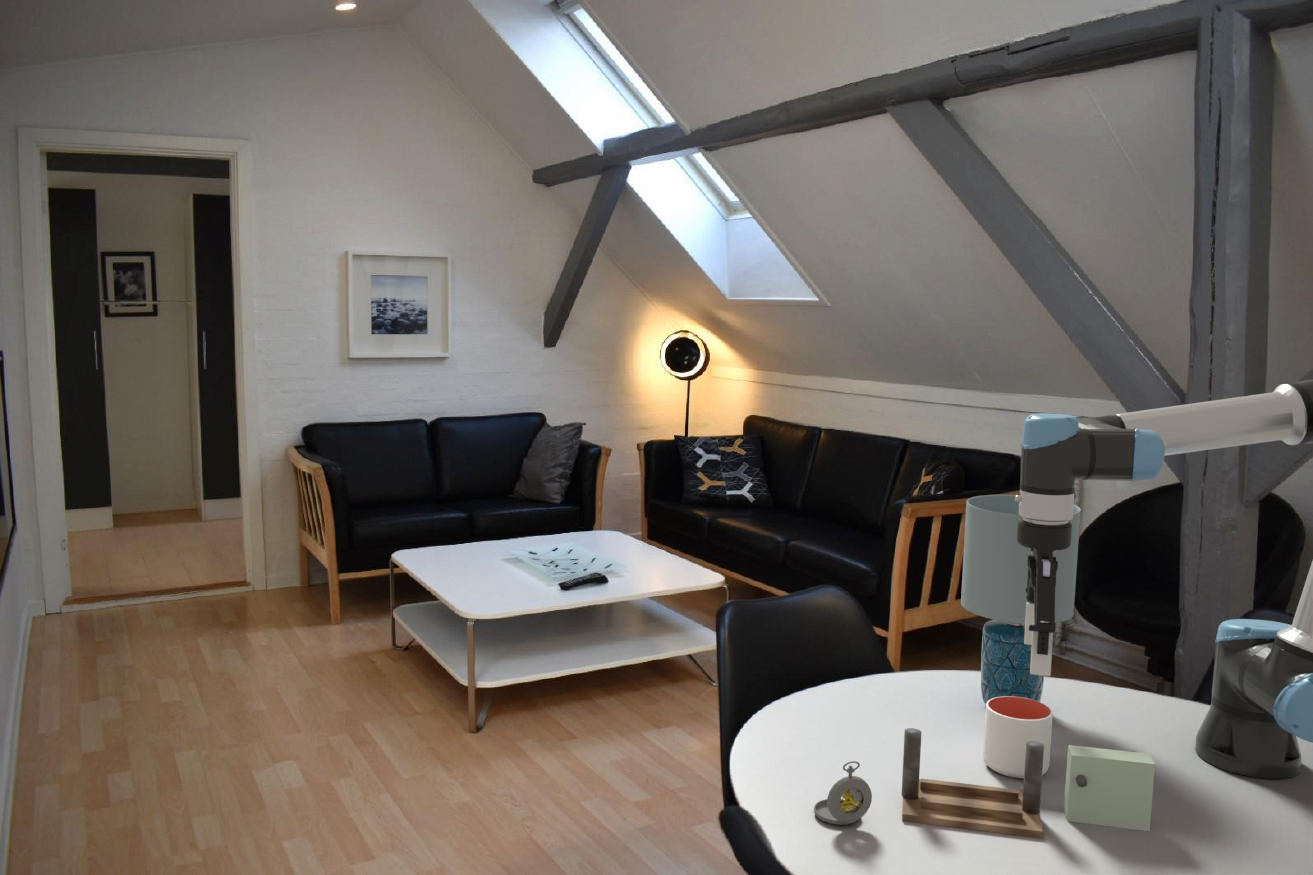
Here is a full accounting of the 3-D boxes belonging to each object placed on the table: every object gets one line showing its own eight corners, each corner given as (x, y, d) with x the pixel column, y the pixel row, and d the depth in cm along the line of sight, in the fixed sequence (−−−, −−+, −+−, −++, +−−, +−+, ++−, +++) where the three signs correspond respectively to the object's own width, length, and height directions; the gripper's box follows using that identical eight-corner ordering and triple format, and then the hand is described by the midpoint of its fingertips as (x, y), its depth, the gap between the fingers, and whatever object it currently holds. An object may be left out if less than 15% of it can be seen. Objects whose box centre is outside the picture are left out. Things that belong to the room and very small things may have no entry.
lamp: (970, 727, 185) (982, 515, 180) (944, 686, 204) (955, 493, 199) (1082, 730, 184) (1097, 517, 179) (1046, 689, 204) (1059, 495, 198)
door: (1144, 819, 154) (1149, 753, 152) (1150, 834, 149) (1156, 766, 148) (1063, 809, 156) (1068, 744, 155) (1067, 824, 152) (1072, 757, 150)
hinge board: (1034, 798, 159) (1039, 728, 158) (1043, 838, 148) (1048, 763, 146) (901, 783, 164) (905, 714, 162) (900, 820, 152) (904, 747, 151)
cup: (1053, 784, 164) (1057, 722, 163) (985, 778, 166) (989, 716, 165) (1043, 757, 174) (1047, 698, 172) (979, 751, 176) (983, 693, 174)
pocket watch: (828, 800, 158) (831, 736, 156) (880, 818, 153) (883, 752, 151) (799, 821, 152) (801, 754, 150) (851, 840, 146) (854, 772, 145)
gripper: (1013, 501, 169) (1006, 630, 172) (1023, 536, 145) (1014, 685, 148) (1063, 504, 167) (1055, 635, 170) (1081, 539, 143) (1072, 690, 146)
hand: (1036, 658), depth 159 cm, fingers open, 13 cm apart
